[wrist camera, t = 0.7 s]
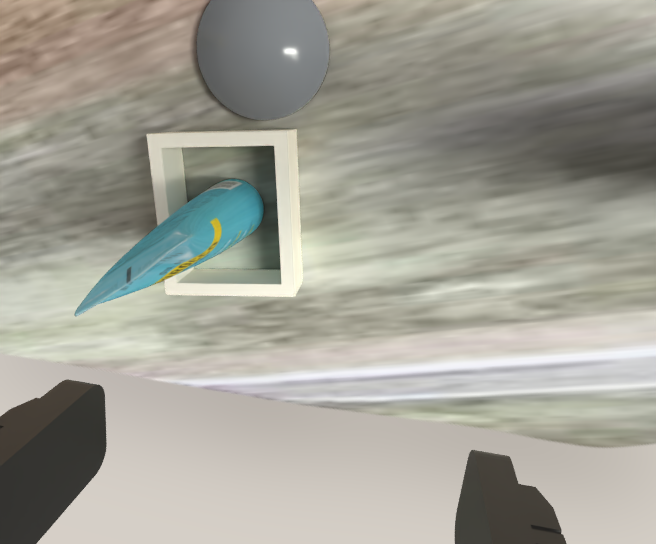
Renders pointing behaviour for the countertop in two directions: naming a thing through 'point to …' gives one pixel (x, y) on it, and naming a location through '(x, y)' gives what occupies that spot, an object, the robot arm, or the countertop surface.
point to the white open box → (290, 277)
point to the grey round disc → (263, 55)
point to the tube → (183, 240)
